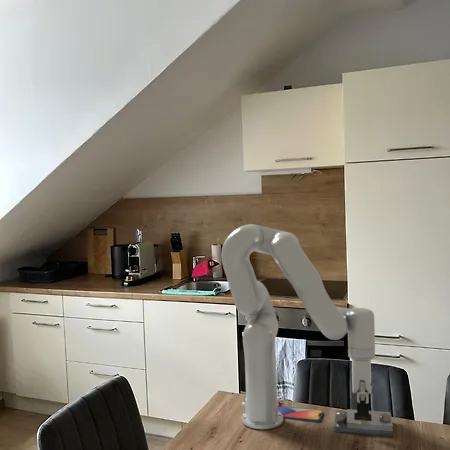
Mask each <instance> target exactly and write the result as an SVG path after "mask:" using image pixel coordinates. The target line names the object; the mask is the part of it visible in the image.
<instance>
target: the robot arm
mask: <svg viewBox="0 0 450 450" xmlns="http://www.w3.org/2000/svg"><path fill="white" fill-rule="evenodd" d="M253 252H257V253H259V254H260V253H261V254H265V255H269V256H272V258H273V260H274V262H275V263H276V264H277V266H278V267H279V268H280V270H281V272H283V274H284V275H285V277H286V279H287V281H288V282H289V283H290V284H291V286H292V288H293V289H294V290H295V291H294V292H296V294H297V296H298V298H299V300H300V302H301V303H302V304H303V306H304V308H305V310H306V312H307V313H308V315H309V316H310V318H311V319H312V321H313V323H314V324H315V325H316V327H317V328H318V330H319V331H320V332H321V333H322V335H324V336H325V338H327V339H329V340H334V341H337V340H340V339H342V338H344V337H345V336H346V334H347V348H348V349H347V353H348V355H347V356H348V358H349V359H351V384H352V385H351V387H352V394H356V395H357V394H358V402H357V401H356V410H357V416H359V417H369V411H370V410H369V409H370V403H368V396H369V394H371V383H372V382H371V381H372V380H371V379H372V360H375V358H376V338H375V333H376V331H375V312H373V310H371V309H368V308H363V307H362V308H360V307H357V308H349V307H348V308H347V307H343V306H342V307H340V306H336V305H335V304H334V302H333V301H332V299H331V297H330V296H329V294H328V292H327V290H326V288H325V285H324V283H323V280H322V278H321V276H320V272H318V270H317V269H316V267H315V266H314V265H313V263H312V262H311V260H310V259H309V257H308V256H307V254H306V253H305V252H304V250H303V248H302V247H301V246H300V241H299V239H298V237H297V236H296V235H295V234H294V233H291V232H289V231H286V230H280V229H275V228H271V227H268V226H264V225H258V224H254V223H249V224H245V225H244V224H243V225H242V226H239V227H237V228H236V229H234V230H233V231H232V232H231V233H230V234H229V235H228V236H227V238H226V239H225V241H224V242H223V245H222V248H221V253H220V254H221V257H220V258H221V264H222V267H223V270H224V274H225V276H226V280H227V284H228V286H229V290H230V293H231V296H232V300H233V303H234V306H235V308H236V310H237V311H238V312H239V313H240V314H241V315H243V316H245V318H246V321H247V324H246V325H245V327H244V329H243V334H242V345H243V346H242V347H243V353H244V354H243V355H244V373H245V399H244V401H242V402H241V404H240V405H241V406H242V407H243V408H244V409H245V411H244V413H243V414H242V415H241V421H242V423H243V424H244V426H246V427H248V428H251V429H254V430H270V429H274V428H278V427H280V425H282V424H283V422H284V418H283V415H282V414H281V413H280V412H278V406H279V405H278V378H277V377H278V376H277V374H278V372H277V371H278V370H277V355H276V353H277V352H276V338H277V335H278V332H279V321H278V318H277V314H276V312H275V309H274V306H273V303H272V300H271V296H270V293H269V291H268V289H267V287H266V286H265V285H264V283H262V282H261V281H260V280H257V277H256V273H255V270H254V268H253V266H252V263H251V260H250V256H251V254H252V253H253ZM359 391H360V392H359ZM360 395H361V396H360ZM365 395H366V396H365Z"/></svg>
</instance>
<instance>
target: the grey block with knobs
mask: <svg viewBox="0 0 450 450" xmlns="http://www.w3.org/2000/svg"><path fill="white" fill-rule="evenodd" d="M334 432H337V433H348V434H359V435H371V436H382V437H383V436H384V437H394V425H393V418H392V414H391V412H390V411H381V410H379V411H377V410H369V421H364V420H357V409H352V408H351V409H349V408H348V409H346V410H342V409H340V410H336V411H335V416H334Z"/></svg>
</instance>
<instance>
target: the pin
mask: <svg viewBox="0 0 450 450" xmlns="http://www.w3.org/2000/svg"><path fill="white" fill-rule="evenodd" d="M359 392H360V391H359ZM360 396H361V395H360ZM365 396H366V395H365ZM369 399H370V398H369V395H368V403H369ZM357 402H358V394H357V393H356V403H357ZM369 404H370V403H369ZM357 420H364V421H369V417H359V416H357Z"/></svg>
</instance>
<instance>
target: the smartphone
mask: <svg viewBox="0 0 450 450" xmlns="http://www.w3.org/2000/svg"><path fill="white" fill-rule="evenodd" d="M323 411H324V410H322V409H315V408H304V407H292V406H284V405H283V406H282V405H278V412H280V413H281V414H282V415H283V419H285V420H293V421H303V422H312V423H320V422H321V420H322V419H323V418H322V417H323V415H324V414H323V413H324V412H323Z"/></svg>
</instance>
